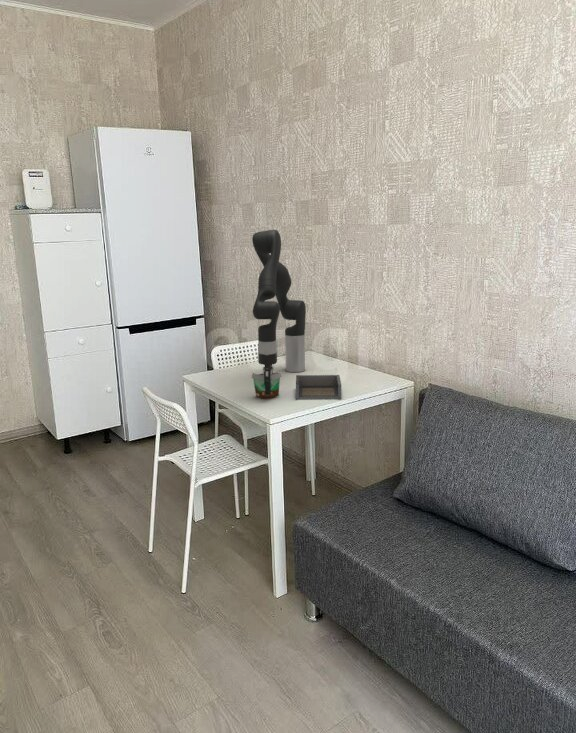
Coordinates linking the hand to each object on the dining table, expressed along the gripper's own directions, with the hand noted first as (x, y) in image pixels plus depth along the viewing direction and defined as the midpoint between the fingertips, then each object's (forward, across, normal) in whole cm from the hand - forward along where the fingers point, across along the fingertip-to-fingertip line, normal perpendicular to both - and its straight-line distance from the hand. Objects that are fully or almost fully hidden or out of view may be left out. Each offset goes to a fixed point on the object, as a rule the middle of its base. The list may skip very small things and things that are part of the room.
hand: (268, 391), depth 243 cm
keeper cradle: (+2, -3, +20) cm, 20 cm away
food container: (+2, +1, 0) cm, 2 cm away
